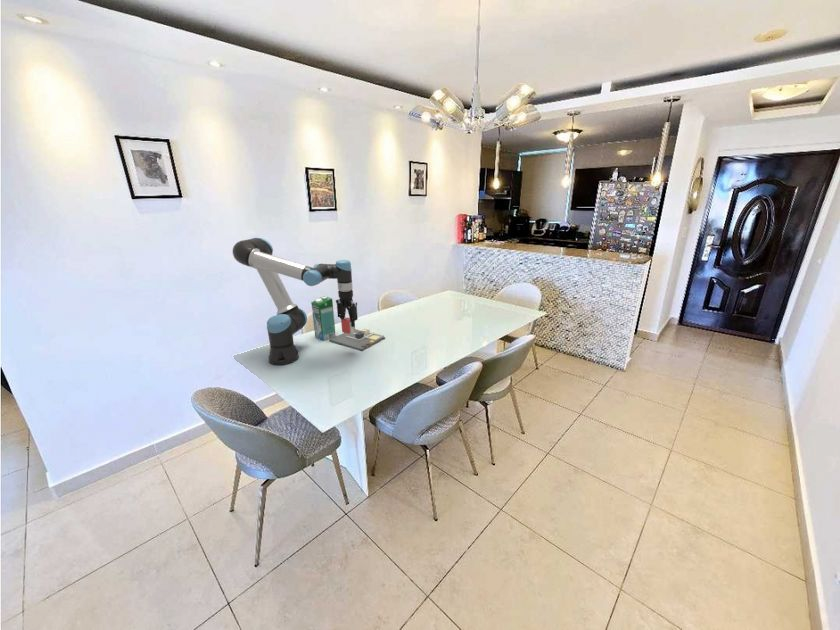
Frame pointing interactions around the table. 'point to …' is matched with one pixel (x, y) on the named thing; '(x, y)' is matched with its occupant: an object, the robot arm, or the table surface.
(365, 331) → the cream orange-banded box
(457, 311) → the table surface
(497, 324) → the table surface
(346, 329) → the red rectangular block
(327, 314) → the milk carton
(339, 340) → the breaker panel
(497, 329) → the table surface
